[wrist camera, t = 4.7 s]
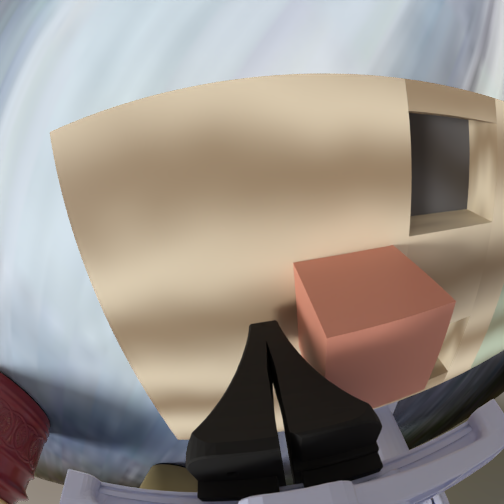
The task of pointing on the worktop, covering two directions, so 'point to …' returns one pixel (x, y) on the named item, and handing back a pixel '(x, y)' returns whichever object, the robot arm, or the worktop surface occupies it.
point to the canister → (19, 440)
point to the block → (371, 322)
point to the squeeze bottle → (170, 479)
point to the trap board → (279, 215)
